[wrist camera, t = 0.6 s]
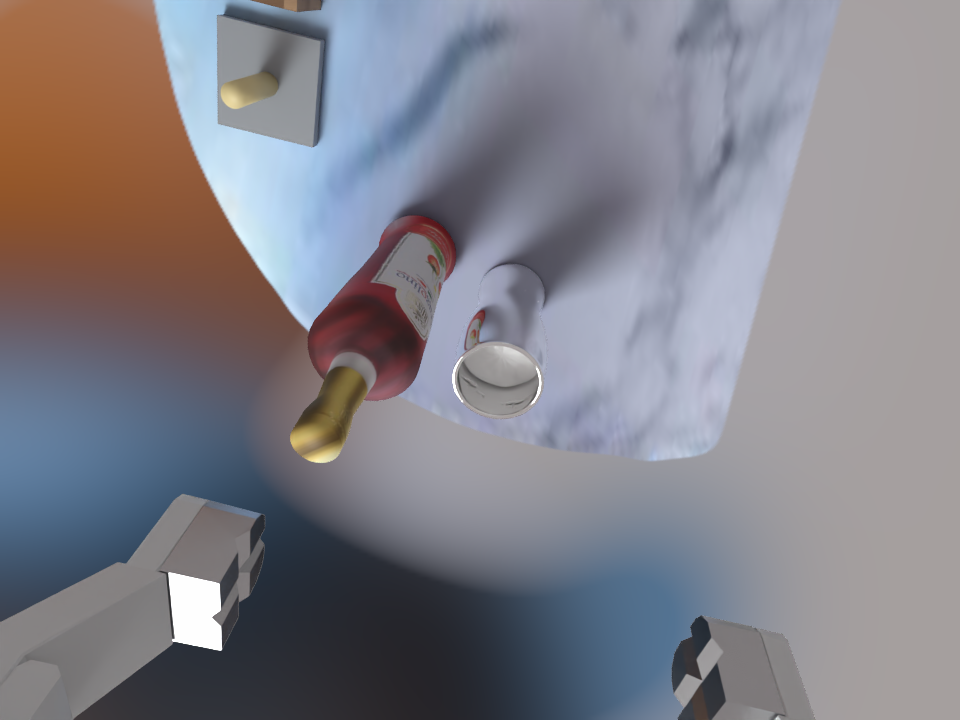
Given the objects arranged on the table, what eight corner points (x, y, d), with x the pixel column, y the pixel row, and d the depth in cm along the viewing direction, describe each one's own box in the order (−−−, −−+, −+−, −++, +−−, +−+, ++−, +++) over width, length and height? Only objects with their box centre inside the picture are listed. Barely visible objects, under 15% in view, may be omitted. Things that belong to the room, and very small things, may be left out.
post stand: (223, 14, 48) (175, 18, 42) (324, 40, 48) (291, 47, 42) (223, 121, 52) (179, 138, 46) (316, 144, 52) (285, 165, 46)
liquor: (475, 264, 56) (413, 469, 32) (409, 298, 59) (304, 512, 35) (432, 193, 53) (328, 360, 29) (364, 232, 56) (217, 415, 32)
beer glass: (528, 339, 59) (520, 435, 47) (462, 308, 59) (434, 398, 46) (563, 278, 56) (564, 364, 43) (493, 245, 55) (472, 323, 42)
